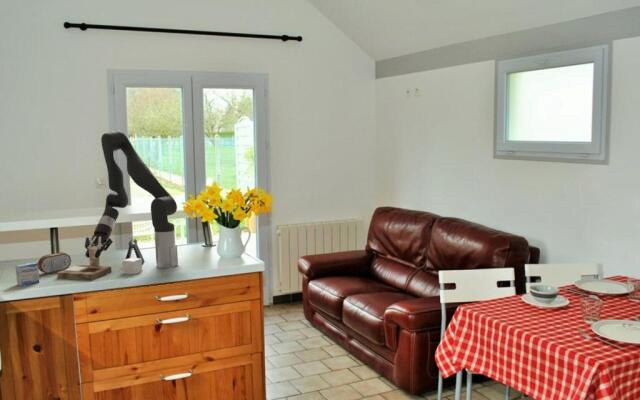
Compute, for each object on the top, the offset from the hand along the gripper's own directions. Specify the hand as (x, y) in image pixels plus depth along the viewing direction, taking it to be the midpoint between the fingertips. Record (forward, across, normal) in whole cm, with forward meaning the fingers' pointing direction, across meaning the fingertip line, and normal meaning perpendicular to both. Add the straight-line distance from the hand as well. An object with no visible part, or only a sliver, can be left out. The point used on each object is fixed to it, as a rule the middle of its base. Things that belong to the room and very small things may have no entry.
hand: (91, 256), depth 281 cm
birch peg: (+3, 0, +5) cm, 6 cm away
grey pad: (+10, -1, -6) cm, 11 cm away
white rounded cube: (+6, +23, +3) cm, 24 cm away
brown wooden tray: (+12, +4, -4) cm, 13 cm away
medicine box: (+24, -12, -16) cm, 31 cm away
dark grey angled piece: (-4, +15, +13) cm, 20 cm away
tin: (+10, -14, -2) cm, 17 cm away
